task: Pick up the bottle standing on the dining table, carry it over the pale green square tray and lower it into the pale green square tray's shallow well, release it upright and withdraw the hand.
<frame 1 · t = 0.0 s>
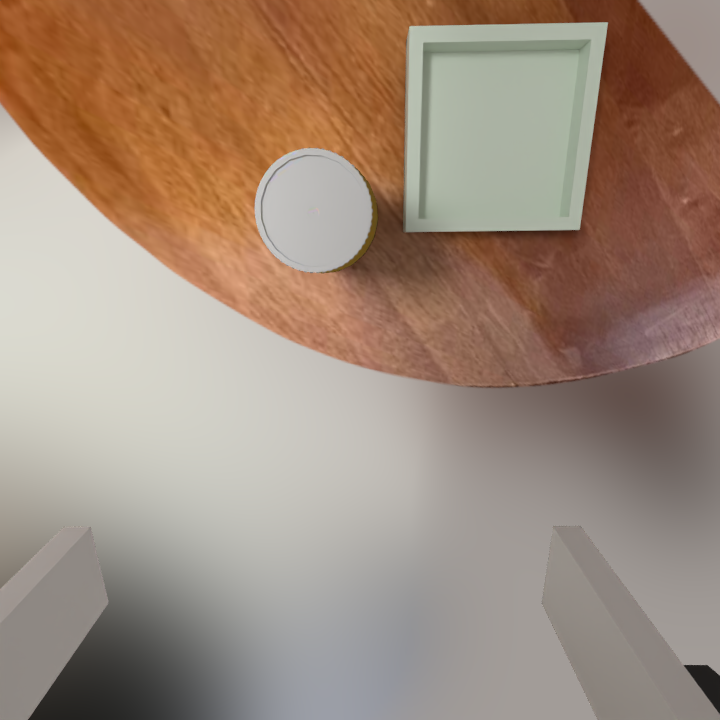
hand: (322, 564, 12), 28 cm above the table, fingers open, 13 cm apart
bottle: (333, 221, 36), on the table
pale green square tray: (490, 141, 34), on the table
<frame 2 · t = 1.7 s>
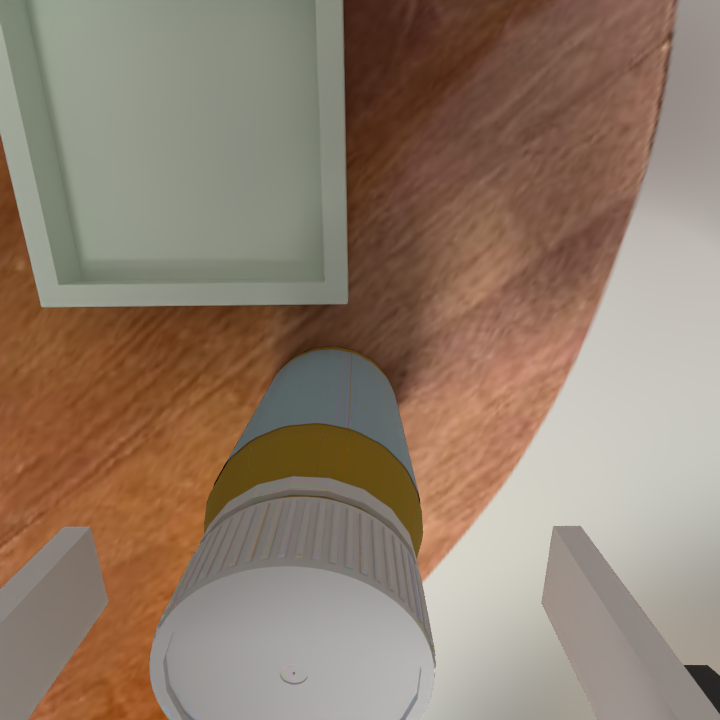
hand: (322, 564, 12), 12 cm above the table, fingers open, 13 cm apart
bottle: (332, 402, 23), on the table
pale green square tray: (195, 147, 19), on the table
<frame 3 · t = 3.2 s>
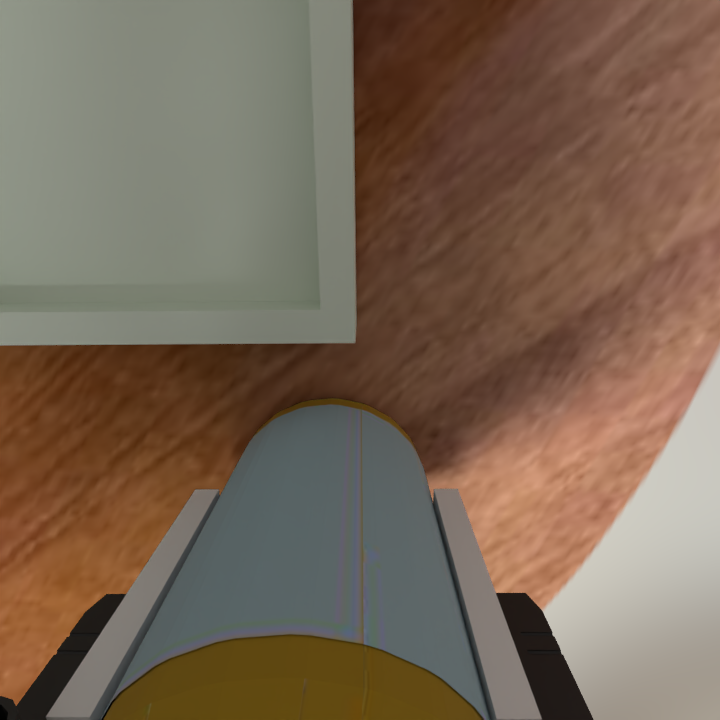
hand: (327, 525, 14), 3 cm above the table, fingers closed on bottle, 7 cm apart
bottle: (333, 470, 17), on the table, touching gripper
pale green square tray: (126, 103, 13), on the table
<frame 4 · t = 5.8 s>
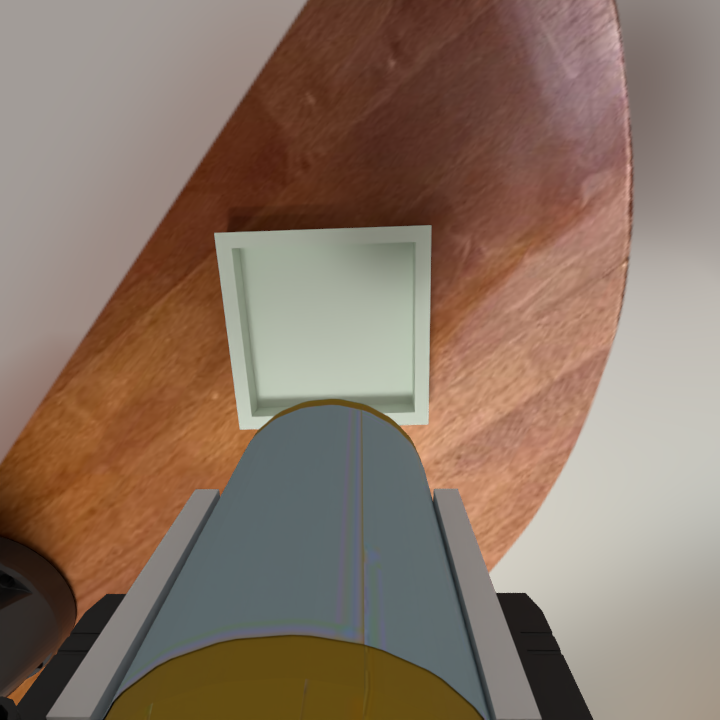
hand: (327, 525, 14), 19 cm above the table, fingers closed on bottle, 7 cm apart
bottle: (333, 471, 17), point 16 cm above the table, touching gripper
pale green square tray: (331, 327, 31), on the table
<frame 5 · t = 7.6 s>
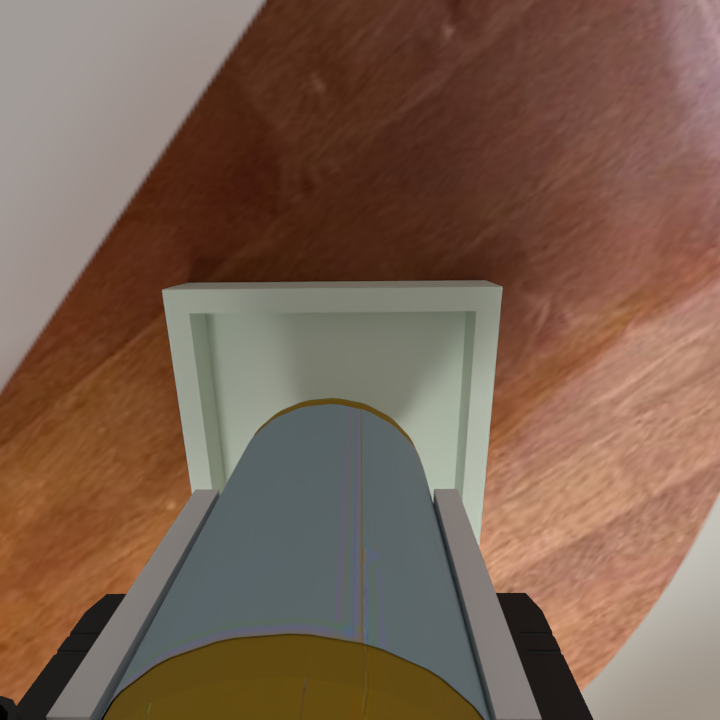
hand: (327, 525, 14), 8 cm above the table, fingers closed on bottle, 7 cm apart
bottle: (333, 470, 17), point 5 cm above the table, touching gripper
pale green square tray: (339, 418, 21), on the table
when the fingers open (5 cm above the table, at t = 8.5 s): bottle drops 2 cm, resting on pale green square tray.
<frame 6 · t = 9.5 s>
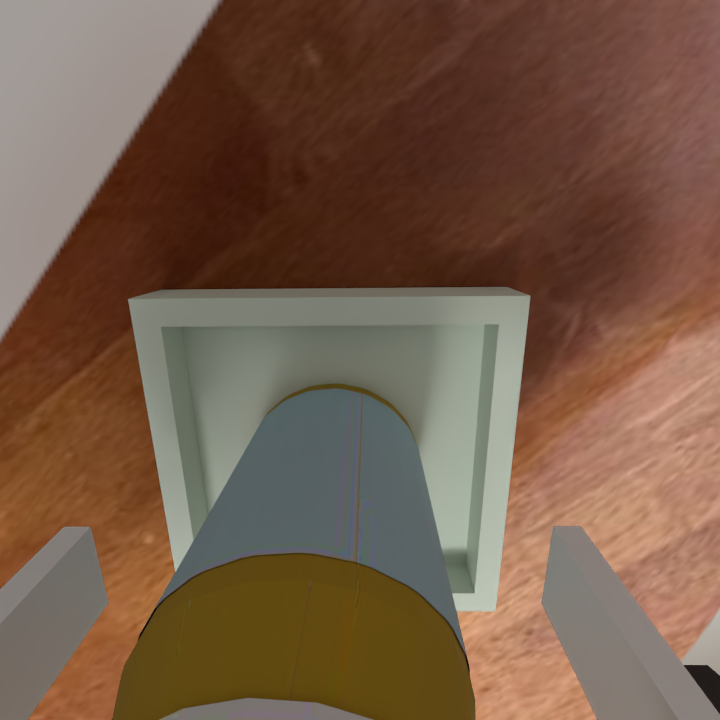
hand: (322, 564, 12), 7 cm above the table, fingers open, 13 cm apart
bottle: (336, 451, 18), point 1 cm above the table, touching pale green square tray
pale green square tray: (337, 443, 19), on the table
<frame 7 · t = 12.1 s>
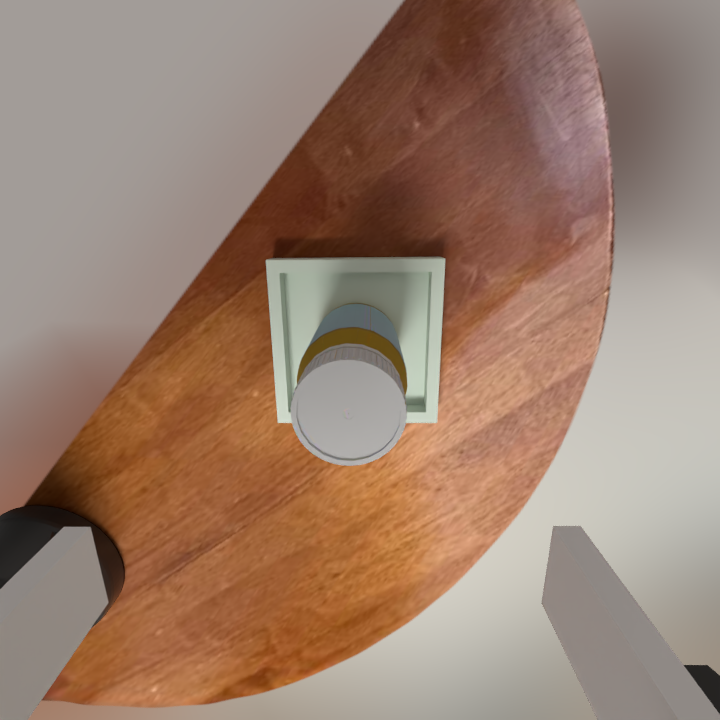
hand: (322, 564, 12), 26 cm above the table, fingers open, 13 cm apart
bottle: (356, 340, 36), point 1 cm above the table, touching pale green square tray
pale green square tray: (357, 338, 37), on the table
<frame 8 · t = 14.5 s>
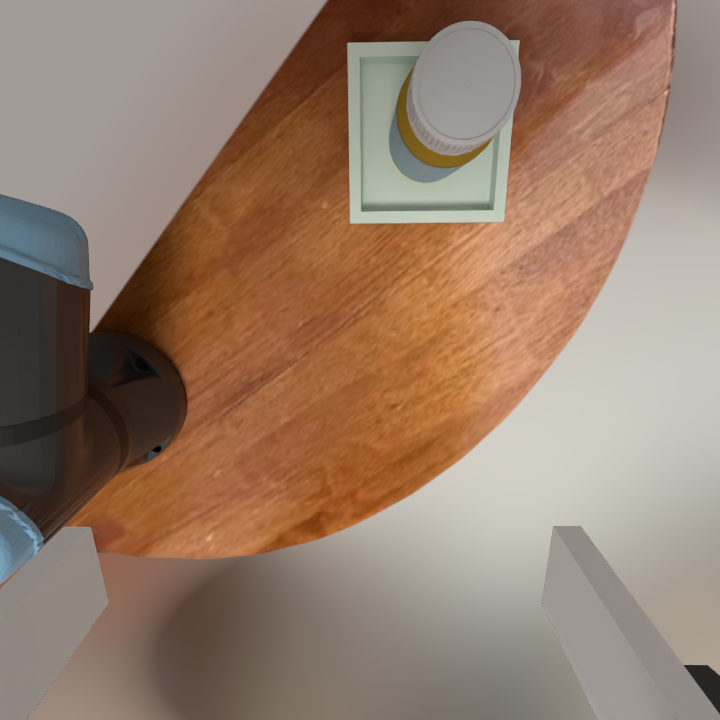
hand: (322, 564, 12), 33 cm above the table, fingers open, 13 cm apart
bottle: (426, 142, 38), point 1 cm above the table, touching pale green square tray
pale green square tray: (425, 143, 38), on the table
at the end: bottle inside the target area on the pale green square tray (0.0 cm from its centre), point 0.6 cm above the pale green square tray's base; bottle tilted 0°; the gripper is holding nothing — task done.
